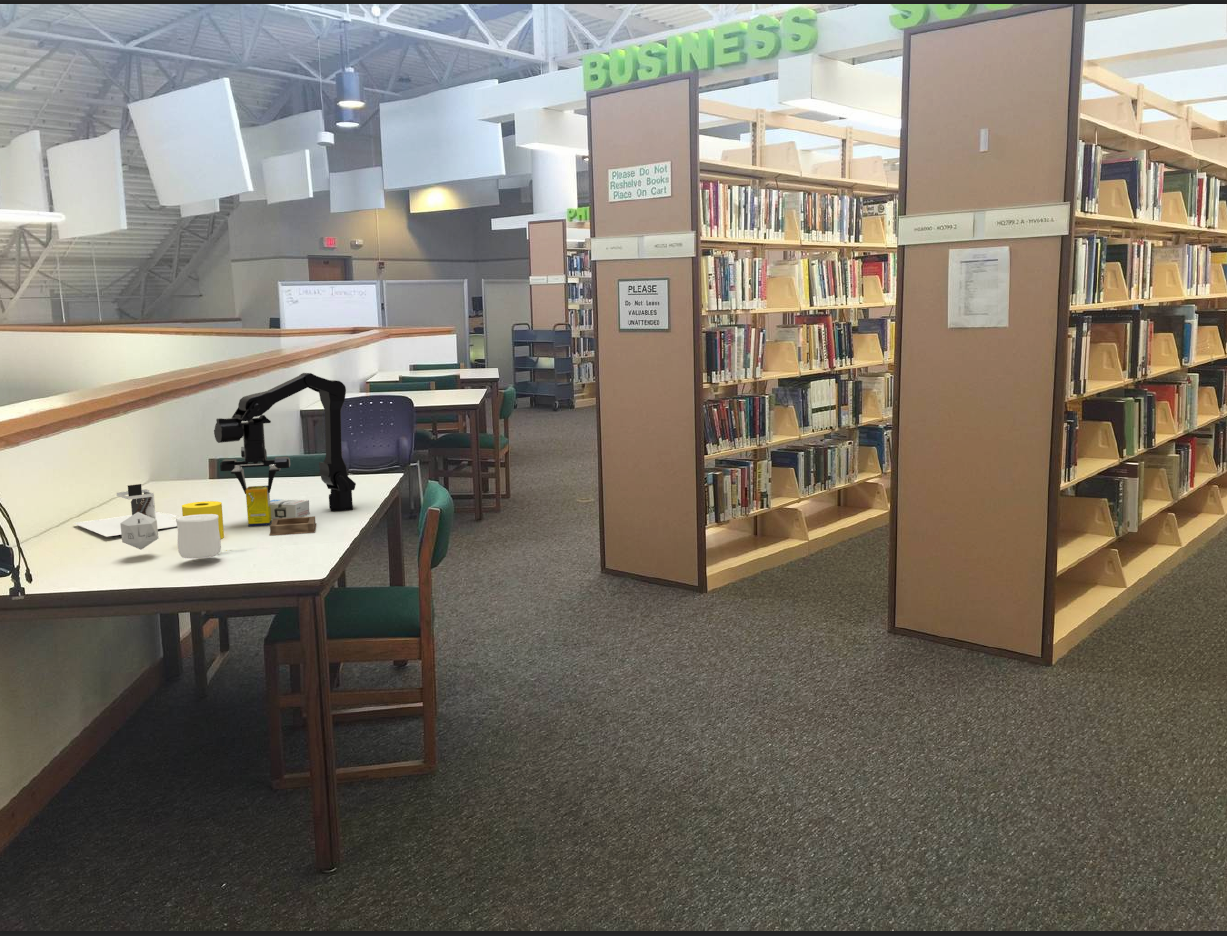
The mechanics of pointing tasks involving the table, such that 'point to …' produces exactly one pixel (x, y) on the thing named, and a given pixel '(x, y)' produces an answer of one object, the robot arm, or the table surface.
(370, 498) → the table surface
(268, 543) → the table surface
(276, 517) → the ink box
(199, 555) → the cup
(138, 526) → the die
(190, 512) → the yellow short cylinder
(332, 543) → the table surface
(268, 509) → the supplement box
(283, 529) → the base
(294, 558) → the table surface
